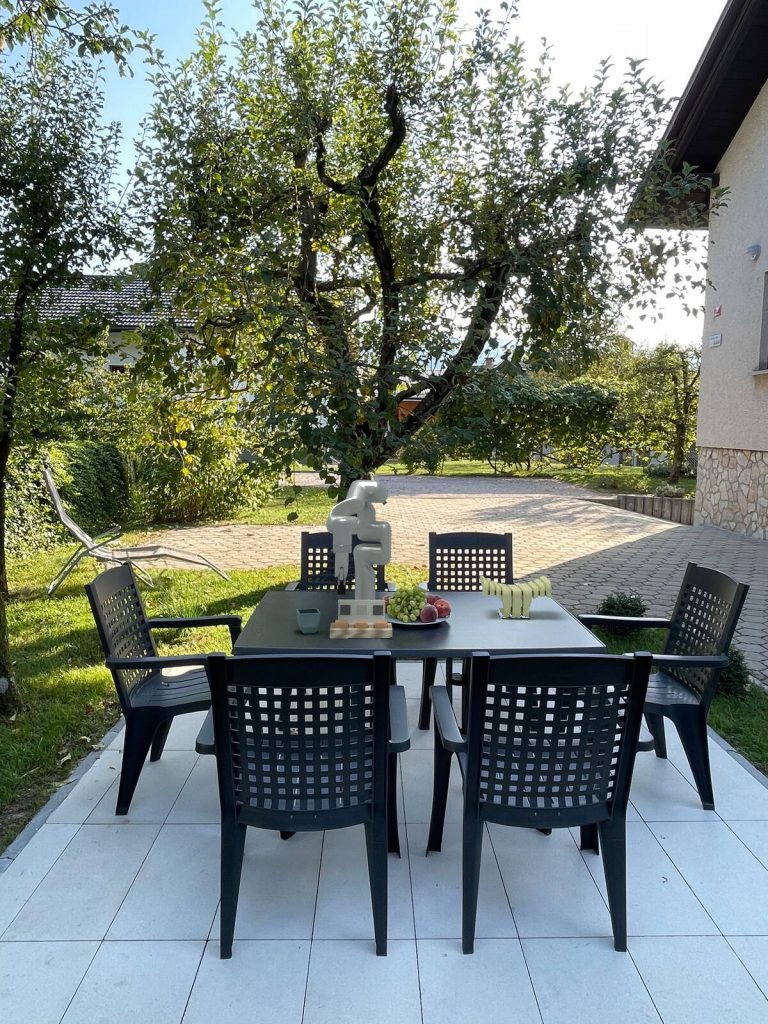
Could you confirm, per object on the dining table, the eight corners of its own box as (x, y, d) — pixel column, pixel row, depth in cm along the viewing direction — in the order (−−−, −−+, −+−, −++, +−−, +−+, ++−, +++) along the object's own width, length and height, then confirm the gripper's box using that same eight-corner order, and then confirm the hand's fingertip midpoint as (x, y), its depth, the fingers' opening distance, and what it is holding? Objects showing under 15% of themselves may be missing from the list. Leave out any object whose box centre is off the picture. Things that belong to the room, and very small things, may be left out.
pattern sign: (337, 627, 308) (338, 601, 307) (338, 624, 313) (338, 598, 312) (384, 627, 308) (385, 601, 307) (384, 624, 313) (384, 599, 312)
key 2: (374, 631, 293) (375, 623, 293) (374, 628, 298) (374, 620, 298) (387, 631, 293) (387, 623, 293) (386, 628, 298) (387, 620, 298)
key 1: (335, 631, 292) (335, 622, 292) (335, 628, 297) (335, 619, 297) (347, 631, 293) (347, 622, 292) (347, 628, 298) (347, 619, 297)
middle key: (355, 631, 293) (355, 622, 292) (355, 628, 298) (355, 620, 297) (367, 631, 293) (367, 623, 292) (367, 628, 298) (367, 620, 297)
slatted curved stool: (483, 619, 325) (484, 580, 324) (478, 611, 341) (479, 574, 340) (550, 620, 325) (551, 581, 323) (542, 612, 341) (543, 575, 339)
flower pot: (299, 635, 293) (299, 613, 292) (295, 630, 301) (296, 609, 301) (320, 634, 295) (320, 612, 295) (316, 629, 304) (316, 608, 303)
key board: (329, 638, 289) (329, 629, 289) (331, 630, 301) (331, 622, 301) (392, 638, 290) (392, 630, 289) (391, 631, 302) (391, 623, 301)
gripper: (333, 545, 300) (333, 589, 302) (332, 551, 284) (331, 597, 285) (352, 546, 300) (351, 589, 302) (351, 551, 284) (350, 597, 286)
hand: (341, 592), depth 294 cm, fingers open, 3 cm apart
